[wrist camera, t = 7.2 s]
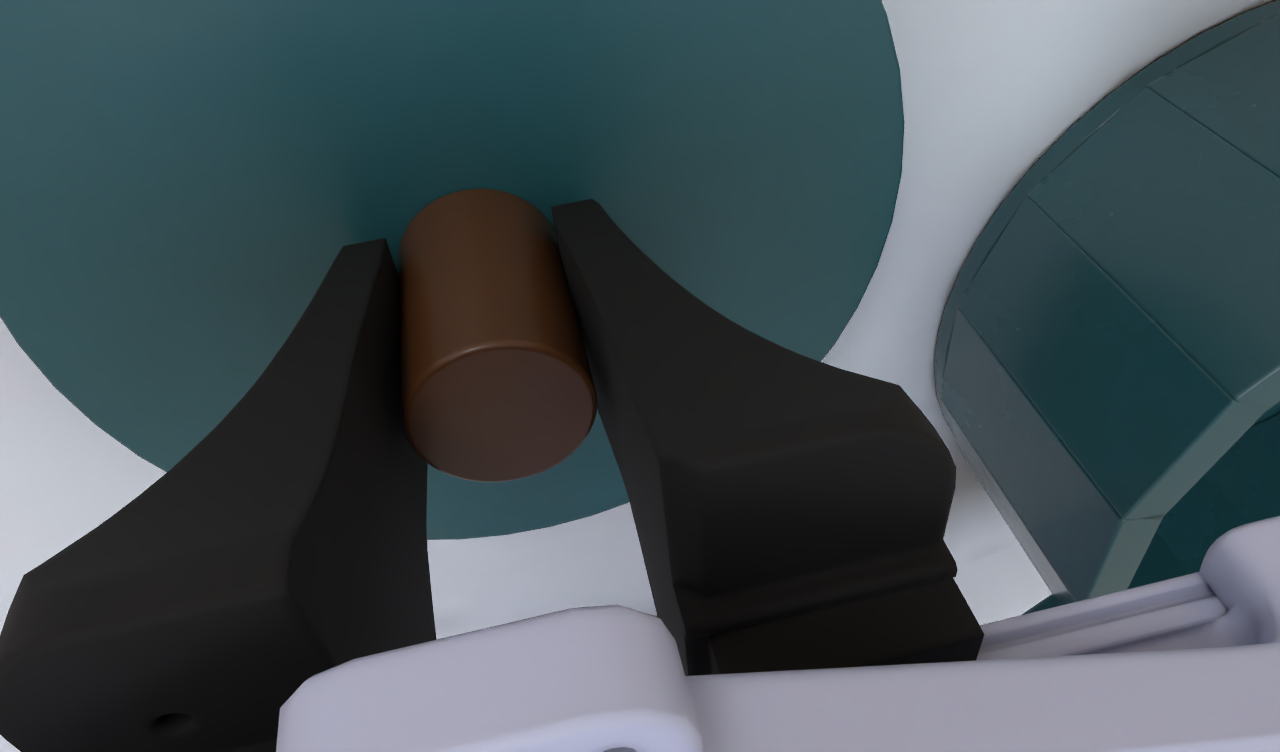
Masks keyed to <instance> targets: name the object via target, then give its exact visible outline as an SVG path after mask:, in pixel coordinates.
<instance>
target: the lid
mask: <svg viewBox="0 0 1280 752" xmlns="http://www.w3.org/2000/svg"><path fill="white" fill-rule="evenodd" d="M903 137H904V114H903V102H902V90H901V79H900V68H899V64H898V60H897V56H896V51H895V47H894V43H893V39H892V34H891V30H890V26H889V22H888V17H887V14H886V11H885V9H884V6H883V4H882V1H881V0H0V317H1V318H2V320H3V321H4V323H5V325H6V326H7V328H8V329H9V331H10V332H11V334H12V335H13V337H14V339H15V340H16V342H17V343H18V345H19V346H20V347H21V348H22V349H23V351H24V352H25V353H26V354H27V355H28V356H29V358H30V359H31V360H32V361H33V362H34V363H35V365H36V366H37V367H38V368H39V369H40V371H41V372H42V373H43V374H44V375H45V376H46V378H47V379H48V380H49V381H50V382H51V383H52V385H53V386H54V387H55V388H56V389H57V390H58V391H59V392H60V393H62V394H63V395H64V396H65V397H66V398H67V399H68V400H69V401H70V402H71V403H72V404H73V405H75V406H76V407H77V408H78V409H79V410H80V411H81V412H82V413H83V414H84V415H85V416H87V417H88V418H89V419H90V420H91V421H92V422H93V423H94V424H95V425H97V426H98V427H99V428H101V429H102V430H104V431H105V432H106V433H108V434H109V435H110V436H112V437H113V438H115V439H116V440H117V441H119V442H120V443H121V444H123V445H124V446H126V447H127V448H128V449H130V450H131V451H132V452H134V453H135V454H137V455H138V456H140V457H141V458H143V459H145V460H147V461H148V462H150V463H152V464H154V465H155V466H157V467H159V468H161V469H162V470H164V471H166V472H168V471H169V470H171V469H172V468H173V467H174V466H175V465H176V464H177V463H178V462H179V461H180V460H181V459H182V458H183V457H184V456H186V455H187V454H188V453H189V452H190V451H191V450H192V449H193V448H194V447H195V446H196V445H197V444H198V443H199V442H200V441H202V440H203V439H204V438H205V437H206V436H207V435H208V434H209V433H210V432H211V431H212V430H213V429H214V428H215V427H216V426H217V425H218V424H219V423H220V422H221V421H222V420H223V419H224V418H225V417H226V416H227V414H228V413H229V412H230V411H231V410H232V409H233V408H234V407H235V406H236V404H237V403H238V402H239V401H240V400H241V399H242V398H243V397H244V396H245V394H246V393H247V392H248V391H249V390H250V388H251V387H252V386H253V385H254V384H255V382H256V381H257V380H258V379H259V377H260V376H261V375H262V373H263V372H264V370H265V369H266V368H267V366H268V365H269V364H270V362H271V361H272V359H273V358H274V357H275V355H276V354H277V352H278V351H279V350H280V348H281V347H282V346H283V344H284V343H285V341H286V340H287V338H288V337H289V335H290V334H291V332H292V330H293V329H294V327H295V326H296V324H297V322H298V321H299V319H300V318H301V316H302V314H303V313H304V311H305V310H306V308H307V306H308V305H309V303H310V302H311V300H312V298H313V296H314V295H315V293H316V291H317V290H318V288H319V286H320V284H321V283H322V281H323V279H324V277H325V276H326V274H327V272H328V270H329V269H330V267H331V265H332V263H333V261H334V260H335V258H336V256H337V255H338V253H339V252H340V250H341V249H342V247H343V246H345V245H351V244H356V243H361V242H366V241H372V240H377V239H382V238H386V240H387V243H388V246H389V249H390V252H391V255H392V258H393V261H394V264H395V267H396V270H397V273H398V276H399V293H400V339H401V384H402V420H403V427H404V431H405V434H406V436H407V438H408V440H409V442H410V444H411V445H412V447H413V448H414V450H415V451H416V452H417V454H418V455H419V456H420V457H421V458H422V459H423V460H424V461H426V462H427V463H428V471H427V519H426V525H427V540H438V539H468V538H478V537H488V536H499V535H508V534H513V533H519V532H524V531H530V530H535V529H541V528H546V527H551V526H555V525H559V524H562V523H566V522H570V521H574V520H577V519H581V518H585V517H589V516H592V515H595V514H598V513H600V512H603V511H606V510H609V509H612V508H614V507H617V506H620V505H623V504H626V503H628V502H630V501H629V498H628V495H627V491H626V488H625V485H624V482H623V478H622V476H621V473H620V470H619V467H618V465H617V462H616V459H615V456H614V454H613V451H612V448H611V445H610V442H609V440H608V437H607V434H606V431H605V429H604V426H603V423H602V420H601V418H600V415H599V412H598V409H597V404H598V403H597V393H596V389H595V385H594V381H593V377H592V374H591V370H590V366H589V362H588V358H587V354H586V350H585V346H584V342H583V338H582V334H581V331H580V327H579V323H578V319H577V315H576V311H575V307H574V303H573V299H572V296H571V293H570V290H569V287H568V283H567V279H566V275H565V271H564V267H563V263H562V259H561V255H560V252H559V248H558V242H557V237H556V231H555V226H554V220H553V215H552V209H551V206H556V205H561V204H566V203H572V202H577V201H582V200H588V199H593V200H595V201H596V202H597V203H599V204H600V205H601V206H602V208H603V209H604V210H605V212H606V213H607V214H608V215H609V217H610V218H611V219H612V220H613V221H614V222H615V224H616V225H617V226H618V227H619V228H620V229H621V230H622V231H623V232H624V233H625V234H626V235H627V237H628V238H629V239H630V240H631V241H632V242H633V243H634V244H635V245H636V246H637V247H638V248H639V249H640V250H641V251H642V252H643V253H645V254H646V255H647V256H648V257H649V258H650V259H651V260H652V261H653V262H654V263H655V264H656V265H658V266H659V267H660V268H661V269H662V270H663V271H664V272H665V273H667V274H668V275H669V276H670V277H671V278H672V279H674V280H675V281H676V282H677V283H679V284H680V285H681V286H683V287H684V288H685V289H686V290H688V291H689V292H690V293H691V294H693V295H694V296H695V297H697V298H698V299H700V300H701V301H702V302H704V303H705V304H707V305H708V306H709V307H711V308H712V309H714V310H715V311H717V312H718V313H720V314H722V315H723V316H725V317H726V318H728V319H729V320H731V321H733V322H734V323H736V324H738V325H740V326H742V327H744V328H745V329H747V330H749V331H751V332H753V333H755V334H757V335H759V336H761V337H763V338H765V339H767V340H769V341H771V342H773V343H775V344H777V345H780V346H782V347H784V348H787V349H789V350H791V351H794V352H796V353H798V354H801V355H803V356H806V357H809V358H811V359H814V360H817V361H819V362H821V361H822V359H823V358H824V357H825V356H826V354H827V353H828V352H829V350H830V349H831V348H832V347H833V345H834V344H835V342H836V341H837V339H838V338H839V336H840V334H841V333H842V331H843V330H844V328H845V326H846V325H847V323H848V322H849V320H850V318H851V317H852V315H853V314H854V312H855V311H856V309H857V307H858V305H859V303H860V301H861V299H862V297H863V295H864V293H865V291H866V289H867V286H868V284H869V282H870V280H871V278H872V276H873V274H874V272H875V270H876V267H877V265H878V262H879V259H880V256H881V253H882V250H883V247H884V244H885V241H886V238H887V235H888V232H889V229H890V226H891V223H892V219H893V214H894V209H895V204H896V199H897V194H898V189H899V184H900V178H901V172H902V154H903Z"/></svg>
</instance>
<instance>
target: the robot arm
mask: <svg viewBox="0 0 1280 752" xmlns="http://www.w3.org/2000/svg"><path fill="white" fill-rule="evenodd" d="M551 209H552V215H553V220H554V226H555V231H556V237H557V242H558V248H559V252H560V255H561V259H562V263H563V267H564V271H565V275H566V279H567V283H568V287H569V290H570V293H571V296H572V299H573V303H574V307H575V311H576V315H577V319H578V323H579V327H580V331H581V334H582V338H583V342H584V346H585V350H586V354H587V358H588V362H589V366H590V370H591V374H592V377H593V381H594V385H595V389H596V393H597V403H598V404H597V409H598V412H599V415H600V418H601V420H602V423H603V426H604V429H605V431H606V434H607V437H608V440H609V442H610V445H611V448H612V451H613V454H614V456H615V459H616V462H617V465H618V467H619V470H620V473H621V476H622V478H623V482H624V485H625V488H626V491H627V495H628V498H629V501H630V505H631V509H632V513H633V517H634V521H635V525H636V529H637V533H638V537H639V541H640V545H641V549H642V553H643V558H644V562H645V566H646V570H647V574H648V578H649V582H650V587H651V591H652V595H653V599H654V603H655V607H656V612H657V616H658V618H657V617H655V616H652V615H649V614H646V613H642V612H639V611H636V610H632V609H629V608H626V607H622V606H619V605H607V606H595V607H582V608H571V609H567V610H563V611H558V612H554V613H550V614H545V615H541V616H537V617H532V618H528V619H524V620H520V621H515V622H511V623H507V624H502V625H498V626H494V627H489V628H485V629H481V630H477V631H472V632H468V633H464V634H459V635H455V636H451V637H446V638H442V639H438V640H436V632H435V623H434V613H433V604H432V594H431V583H430V573H429V562H428V552H427V525H426V519H427V471H428V463H427V462H426V461H424V460H423V459H422V458H421V457H420V456H419V455H418V454H417V452H416V451H415V450H414V448H413V447H412V445H411V444H410V442H409V440H408V438H407V436H406V434H405V431H404V427H403V420H402V384H401V339H400V293H399V276H398V273H397V270H396V267H395V264H394V261H393V258H392V255H391V252H390V249H389V246H388V243H387V240H386V238H382V239H377V240H372V241H366V242H361V243H356V244H351V245H345V246H343V247H342V249H341V250H340V252H339V253H338V255H337V256H336V258H335V260H334V261H333V263H332V265H331V267H330V269H329V270H328V272H327V274H326V276H325V277H324V279H323V281H322V283H321V284H320V286H319V288H318V290H317V291H316V293H315V295H314V296H313V298H312V300H311V302H310V303H309V305H308V306H307V308H306V310H305V311H304V313H303V314H302V316H301V318H300V319H299V321H298V322H297V324H296V326H295V327H294V329H293V330H292V332H291V334H290V335H289V337H288V338H287V340H286V341H285V343H284V344H283V346H282V347H281V348H280V350H279V351H278V352H277V354H276V355H275V357H274V358H273V359H272V361H271V362H270V364H269V365H268V366H267V368H266V369H265V370H264V372H263V373H262V375H261V376H260V377H259V379H258V380H257V381H256V382H255V384H254V385H253V386H252V387H251V388H250V390H249V391H248V392H247V393H246V394H245V396H244V397H243V398H242V399H241V400H240V401H239V402H238V403H237V404H236V406H235V407H234V408H233V409H232V410H231V411H230V412H229V413H228V414H227V416H226V417H225V418H224V419H223V420H222V421H221V422H220V423H219V424H218V425H217V426H216V427H215V428H214V429H213V430H212V431H211V432H210V433H209V434H208V435H207V436H206V437H205V438H204V439H203V440H202V441H200V442H199V443H198V444H197V445H196V446H195V447H194V448H193V449H192V450H191V451H190V452H189V453H188V454H187V455H186V456H184V457H183V458H182V459H181V460H180V461H179V462H178V463H177V464H176V465H175V466H174V467H173V468H172V469H171V470H169V471H168V472H167V473H166V474H165V475H164V476H162V477H161V478H160V479H159V480H158V481H156V482H155V483H154V484H153V485H151V486H150V487H149V488H148V489H147V490H145V491H144V492H143V493H142V494H141V495H139V496H138V497H137V498H135V499H134V500H133V501H131V502H130V503H129V504H127V505H126V506H125V507H124V508H122V509H121V510H120V511H118V512H117V513H116V514H114V515H113V516H112V517H110V518H109V519H108V520H106V521H105V522H103V523H102V524H101V525H99V526H98V527H97V528H95V529H94V530H92V531H91V532H89V533H88V534H86V535H85V536H83V537H82V538H80V539H79V540H77V541H76V542H74V543H73V544H71V545H70V546H68V547H67V548H65V549H64V550H62V551H61V552H59V553H58V554H56V555H55V556H53V557H52V558H50V559H49V560H47V561H46V562H44V563H43V564H41V565H39V566H38V567H36V568H35V569H33V570H31V571H30V572H28V573H27V574H25V575H24V576H23V578H22V580H21V583H20V585H19V587H18V590H17V592H16V594H15V597H14V599H13V602H12V604H11V606H10V609H9V611H8V614H7V617H6V620H5V623H4V626H3V629H2V632H1V635H0V735H1V736H3V737H4V738H5V739H6V740H7V741H8V742H10V743H11V744H12V745H13V746H15V747H16V748H17V749H18V750H20V751H21V752H1280V516H1277V517H1272V518H1268V519H1264V520H1260V521H1256V522H1252V523H1248V524H1244V525H1241V526H1239V527H1236V528H1233V529H1231V530H1229V531H1228V532H1226V533H1225V534H1223V535H1222V536H1220V537H1219V538H1217V540H1216V541H1215V542H1214V543H1213V544H1212V545H1211V546H1210V547H1209V549H1208V551H1207V553H1206V554H1205V557H1204V559H1203V562H1202V565H1201V568H1200V571H1199V572H1196V573H1192V574H1188V575H1184V576H1180V577H1176V578H1172V579H1168V580H1164V581H1160V582H1155V583H1151V584H1147V585H1143V586H1139V587H1135V588H1131V589H1127V590H1123V591H1119V592H1115V593H1111V594H1106V595H1102V596H1098V597H1094V598H1090V599H1086V600H1082V601H1078V602H1074V603H1070V604H1066V605H1061V606H1057V607H1053V608H1049V609H1045V610H1041V611H1037V612H1033V613H1029V614H1025V615H1021V616H1017V617H1012V618H1008V619H1004V620H1000V621H996V622H992V623H988V624H984V625H979V624H978V622H977V620H976V618H975V616H974V615H973V613H972V611H971V609H970V607H969V606H968V604H967V602H966V600H965V598H964V597H963V595H962V593H961V591H960V590H959V588H958V586H957V584H956V582H955V581H954V579H953V577H956V574H957V566H956V562H955V560H954V558H953V557H952V555H951V553H950V551H949V550H948V548H947V546H946V544H945V543H944V541H943V537H944V533H945V528H946V524H947V520H948V516H949V511H950V507H951V503H952V499H953V495H954V490H955V482H956V466H955V464H954V461H953V459H952V457H951V454H950V452H949V450H948V448H947V447H946V445H945V444H944V442H943V440H942V439H941V437H940V436H939V434H938V433H937V431H936V430H935V428H934V427H933V425H932V424H931V423H930V422H929V420H928V419H927V418H926V416H925V415H924V414H923V413H922V411H921V410H920V409H919V408H918V407H917V406H916V404H915V403H914V402H913V401H912V400H911V399H910V398H909V396H908V395H907V394H906V393H905V392H904V391H903V389H902V388H901V387H900V386H899V385H896V384H892V383H889V382H885V381H881V380H878V379H874V378H871V377H867V376H863V375H860V374H856V373H853V372H849V371H845V370H842V369H839V368H836V367H833V366H830V365H828V364H825V363H822V362H819V361H817V360H814V359H811V358H809V357H806V356H803V355H801V354H798V353H796V352H794V351H791V350H789V349H787V348H784V347H782V346H780V345H777V344H775V343H773V342H771V341H769V340H767V339H765V338H763V337H761V336H759V335H757V334H755V333H753V332H751V331H749V330H747V329H745V328H744V327H742V326H740V325H738V324H736V323H734V322H733V321H731V320H729V319H728V318H726V317H725V316H723V315H722V314H720V313H718V312H717V311H715V310H714V309H712V308H711V307H709V306H708V305H707V304H705V303H704V302H702V301H701V300H700V299H698V298H697V297H695V296H694V295H693V294H691V293H690V292H689V291H688V290H686V289H685V288H684V287H683V286H681V285H680V284H679V283H677V282H676V281H675V280H674V279H672V278H671V277H670V276H669V275H668V274H667V273H665V272H664V271H663V270H662V269H661V268H660V267H659V266H658V265H656V264H655V263H654V262H653V261H652V260H651V259H650V258H649V257H648V256H647V255H646V254H645V253H643V252H642V251H641V250H640V249H639V248H638V247H637V246H636V245H635V244H634V243H633V242H632V241H631V240H630V239H629V238H628V237H627V235H626V234H625V233H624V232H623V231H622V230H621V229H620V228H619V227H618V226H617V225H616V224H615V222H614V221H613V220H612V219H611V218H610V217H609V215H608V214H607V213H606V212H605V210H604V209H603V208H602V206H601V205H600V204H599V203H597V202H596V201H595V200H593V199H588V200H582V201H577V202H572V203H566V204H561V205H556V206H551Z"/></svg>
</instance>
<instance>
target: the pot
mask: <svg viewBox="0 0 1280 752" xmlns="http://www.w3.org/2000/svg"><path fill="white" fill-rule="evenodd" d="M934 368H935V381H936V393H937V396H938V400H939V403H940V407H941V410H942V414H943V416H944V418H945V420H946V421H947V423H948V425H949V427H950V429H951V431H952V432H953V434H954V436H955V437H956V439H957V441H958V444H959V446H960V449H961V451H962V454H963V456H964V458H965V460H966V461H967V463H968V464H969V466H970V468H971V469H972V471H973V472H974V474H975V475H976V477H977V478H978V480H979V481H980V483H981V485H982V486H983V488H984V489H985V491H986V492H987V494H988V495H989V497H990V498H991V500H992V502H993V503H994V505H995V506H996V508H997V509H998V511H999V512H1000V514H1001V515H1002V517H1003V519H1004V520H1005V522H1006V523H1007V525H1008V526H1009V528H1010V529H1011V531H1012V532H1013V534H1014V535H1015V537H1016V539H1017V540H1018V542H1019V543H1020V545H1021V546H1022V548H1023V549H1024V551H1025V552H1026V554H1027V556H1028V557H1029V559H1030V560H1031V562H1032V563H1033V565H1034V566H1035V568H1036V569H1037V571H1038V573H1039V574H1040V576H1041V577H1042V579H1043V580H1044V582H1045V583H1046V585H1047V586H1048V588H1049V590H1050V591H1051V593H1052V595H1050V596H1049V597H1047V598H1046V599H1044V600H1043V601H1041V602H1040V603H1038V604H1037V605H1035V606H1034V607H1032V608H1031V609H1030V610H1028V611H1027V612H1025V613H1024V614H1022V615H1025V614H1029V613H1033V612H1037V611H1041V610H1045V609H1049V608H1053V607H1057V606H1061V605H1066V604H1070V603H1074V602H1078V601H1082V600H1086V599H1090V598H1094V597H1098V596H1102V595H1106V594H1111V593H1115V592H1119V591H1123V590H1127V589H1131V588H1135V587H1139V586H1143V585H1147V584H1151V583H1155V582H1160V581H1164V580H1168V579H1172V578H1176V577H1180V576H1184V575H1188V574H1192V573H1196V572H1199V571H1200V568H1201V565H1202V562H1203V559H1204V557H1205V554H1206V553H1207V551H1208V549H1209V547H1210V546H1211V545H1212V544H1213V543H1214V542H1215V541H1216V540H1217V538H1219V537H1220V536H1222V535H1223V534H1225V533H1226V532H1228V531H1229V530H1231V529H1233V528H1236V527H1239V526H1241V525H1244V524H1248V523H1252V522H1256V521H1260V520H1264V519H1268V518H1272V517H1277V516H1280V0H1276V1H1273V2H1271V3H1268V4H1265V5H1263V6H1260V7H1257V8H1254V9H1252V10H1249V11H1246V12H1244V13H1242V14H1240V15H1238V16H1236V17H1234V18H1232V19H1230V20H1228V21H1226V22H1224V23H1222V24H1220V25H1218V26H1216V27H1214V28H1212V29H1209V30H1207V31H1205V32H1203V33H1201V34H1199V35H1197V36H1196V37H1194V38H1192V39H1191V40H1189V41H1188V42H1186V43H1184V44H1183V45H1181V46H1179V47H1178V48H1176V49H1174V50H1173V51H1171V52H1169V53H1168V54H1166V55H1164V56H1163V57H1161V58H1159V59H1158V60H1156V61H1154V62H1153V63H1151V64H1150V65H1149V66H1147V67H1146V68H1144V69H1143V70H1142V71H1140V72H1139V73H1138V74H1136V75H1135V76H1133V77H1132V78H1131V79H1129V80H1128V81H1127V82H1125V83H1124V84H1122V85H1121V86H1120V87H1118V88H1117V89H1116V90H1114V91H1113V92H1111V93H1110V94H1109V95H1108V96H1106V97H1105V98H1104V99H1103V100H1102V101H1101V102H1099V103H1098V104H1097V105H1096V106H1095V107H1094V108H1092V109H1091V110H1090V111H1089V112H1088V113H1087V114H1085V115H1084V116H1083V117H1082V118H1081V119H1080V120H1078V121H1077V122H1076V123H1075V124H1074V125H1073V126H1072V127H1070V128H1069V129H1068V130H1067V131H1066V132H1065V133H1064V134H1063V135H1062V136H1061V137H1060V138H1059V139H1058V140H1057V141H1056V142H1055V143H1054V144H1053V145H1052V146H1051V147H1050V148H1049V149H1048V150H1047V151H1046V152H1045V153H1044V155H1043V156H1042V157H1041V158H1040V159H1039V160H1038V161H1037V162H1036V163H1035V164H1034V165H1033V166H1032V167H1031V168H1030V169H1029V171H1028V172H1027V173H1026V174H1025V175H1024V177H1023V178H1022V179H1021V180H1020V181H1019V183H1018V184H1017V185H1016V186H1015V188H1014V189H1013V190H1012V191H1011V192H1010V194H1009V195H1008V196H1007V197H1006V198H1005V200H1004V201H1003V202H1002V204H1001V205H1000V206H999V208H998V209H997V211H996V212H995V214H994V215H993V217H992V218H991V220H990V221H989V223H988V224H987V225H986V227H985V228H984V230H983V231H982V233H981V234H980V236H979V237H978V239H977V241H976V242H975V244H974V246H973V248H972V250H971V252H970V253H969V255H968V257H967V259H966V261H965V263H964V264H963V266H962V268H961V270H960V272H959V274H958V276H957V279H956V281H955V284H954V286H953V289H952V291H951V293H950V296H949V298H948V301H947V303H946V306H945V309H944V313H943V317H942V321H941V325H940V329H939V332H938V336H937V344H936V354H935V364H934Z"/></svg>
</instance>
